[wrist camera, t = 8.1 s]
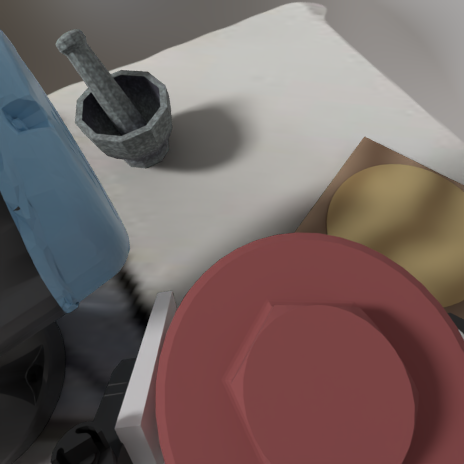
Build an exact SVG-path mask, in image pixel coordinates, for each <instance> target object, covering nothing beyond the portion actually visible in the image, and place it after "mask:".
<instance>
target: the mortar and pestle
mask: <svg viewBox="0 0 464 464" xmlns="http://www.w3.org/2000/svg"><path fill="white" fill-rule="evenodd" d="M56 47H57V48H58V50H59V51H60V52H61V53H62V54H64V55H66V56H67V57H68V59H69V60H70V62H71V63H72V64H73V66H74V68H75V69H76V70H77V72H78V73H79V75H80V76H81V78H82V79H83V81H84V82H85V84H86V85H87V87H88V89H87V90H86V91H85V92H84V93H83V94H82V95H81V96H80V97H79V98H78V100H77V105H76V118H75V123H76V124H77V126H78V127H79V128H80V129H81V131H82V132H83V133H84V134H85V135H86V136H87V137H88V138H89V139H90V140H91V141H92V142H93V143H94V144H95V145H96V146H97V147H98V148H99V149H100V150H102V151H103V152H104V153H105V154H106V155H107V156H110V157H114V158H117V159H124V160H125V161H126V162H127V163H128V164H129V165H130V166H131V167H139V168H148V167H150V166H152V165H154V164H157V163H159V162H161V161H162V159H163V158H164V156H165V155H166V153H167V152H168V151H169V143H168V137H169V136H170V133H171V130H172V117H171V107H170V100H169V95H168V92H167V89H166V86H165V85H164V84H163V83H162V82H160V81H159V80H158V79H156V78H155V77H154V76H152V75H151V74H150V73H149V72H143V71H127V70H120V71H118V72H115V73H113V74H110V73H109V72H108V70H107V69H106V68H105V67H104V65H103V64H102V63H101V61H100V60H99V59H98V57H97V56H96V55H95V53H94V52H93V51H92V49H91V48H90V47H89V45H88V44H87V42H86V36H85V35H84V34H83V32H82V31H81V30H79V29H75V30H71V31H69V32H67V33H65V34H64V35H62V36H61V37H60V38H59V39H58V40H57V42H56Z"/></svg>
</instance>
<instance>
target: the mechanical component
mask: <svg viewBox="0 0 464 464" xmlns="http://www.w3.org/2000/svg"><path fill="white" fill-rule="evenodd" d="M156 420H157V428H158V435H159V443H160V447H161V450H162V454H163V458H164V461H165V464H464V339H463V337H462V336H461V334H460V332H459V330H458V328H457V326H456V325H455V323H454V322H453V321H452V319H451V318H450V316H449V315H448V314H447V312H446V311H445V309H444V308H443V307H442V305H441V304H440V303H439V302H438V300H437V299H436V298H435V297H434V296H433V295H432V294H431V293H430V292H429V291H428V290H427V288H426V287H425V286H424V285H423V284H422V283H421V282H419V281H418V280H417V279H416V278H415V277H414V276H412V275H411V274H410V273H409V272H408V271H407V270H405V269H404V268H403V267H401V266H400V265H398V264H397V263H395V262H394V261H392V260H391V259H389V258H388V257H386V256H385V255H383V254H381V253H379V252H377V251H375V250H373V249H371V248H369V247H367V246H365V245H362V244H360V243H357V242H354V241H351V240H348V239H344V238H341V237H337V236H331V235H326V234H320V233H298V232H297V233H288V234H279V235H274V236H270V237H266V238H263V239H259V240H256V241H253V242H251V243H249V244H246V245H244V246H242V247H240V248H237V249H236V250H234V251H233V252H231V253H229V254H228V255H226V256H225V257H223V258H222V259H220V260H219V261H218V262H216V263H215V264H214V265H213V266H212V267H211V268H209V269H208V270H207V271H206V272H205V273H204V274H203V275H202V276H201V277H200V278H199V279H198V280H197V281H196V283H195V284H194V285H193V286H192V288H191V289H190V290H189V291H188V293H187V294H186V295H185V297H184V299H183V300H182V302H181V304H180V306H179V307H178V309H177V310H176V313H175V315H174V317H173V319H172V322H171V324H170V326H169V328H168V331H167V333H166V336H165V340H164V343H163V347H162V351H161V354H160V358H159V364H158V372H157V379H156Z"/></svg>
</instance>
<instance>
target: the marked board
mask: <svg viewBox="0 0 464 464" xmlns="http://www.w3.org/2000/svg"><path fill="white" fill-rule="evenodd" d="M297 232H298V233H320V234H326V235H331V236H337V237H341V238H344V239H348V240H351V241H354V242H357V243H360V244H362V245H365V246H367V247H369V248H371V249H373V250H375V251H377V252H379V253H381V254H383V255H385V256H386V257H388V258H389V259H391V260H392V261H394V262H395V263H397V264H398V265H400V266H401V267H403V268H404V269H405V270H407V271H408V272H409V273H410V274H411V275H412V276H414V277H415V278H416V279H417V280H418V281H419V282H421V283H422V284H423V285H424V286H425V287H426V288H427V290H428V291H429V292H430V293H431V294H432V295H433V296H434V297H435V298H436V299H437V300H438V302H439V303H440V304H441V305H442V307H443V308H444V309H445V311H446V312H447V313H452V314H454V315H456V316H458V317H460V318H462V319H464V185H462V184H460V183H458V182H456V181H454V180H452V179H450V178H448V177H446V176H443V175H441V174H439V173H437V172H435V171H433V170H431V169H429V168H427V167H425V166H423V165H421V164H419V163H417V162H415V161H413V160H411V159H409V158H407V157H405V156H403V155H401V154H399V153H397V152H395V151H393V150H391V149H389V148H387V147H385V146H383V145H381V144H379V143H376V142H374V141H372V140H370V139H368V138H366V137H364V138H363V139H362V141H361V142H360V143H359V145H358V146H357V147H356V149H355V150H354V152H353V153H352V154H351V156H350V157H349V158H348V160H347V161H346V163H345V164H344V165H343V167H342V168H341V169H340V171H339V172H338V173H337V175H336V176H335V178H334V179H333V180H332V182H331V183H330V184H329V186H328V187H327V189H326V190H325V191H324V193H323V194H322V195H321V197H320V198H319V200H318V201H317V202H316V204H315V205H314V206H313V208H312V209H311V211H310V212H309V213H308V215H307V216H306V217H305V219H304V220H303V221H302V223H301V224H300V226H299V227H298V228H297V230H296V231H295V232H294V233H297Z"/></svg>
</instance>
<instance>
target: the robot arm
mask: <svg viewBox="0 0 464 464" xmlns="http://www.w3.org/2000/svg"><path fill="white" fill-rule="evenodd" d="M129 250H130V244H129V237H128V234H127V232H126V229H125V227H124V225H123V223H122V221H121V219H120V217H119V215H118V213H117V211H116V210H115V208H114V206H113V204H112V202H111V201H110V199H109V197H108V195H107V194H106V192H105V190H104V188H103V187H102V185H101V183H100V181H99V180H98V178H97V176H96V175H95V173H94V171H93V170H92V168H91V166H90V164H89V163H88V161H87V160H86V158H85V156H84V155H83V153H82V151H81V150H80V148H79V146H78V145H77V143H76V141H75V140H74V138H73V137H72V135H71V133H70V132H69V130H68V128H67V127H66V125H65V124H64V122H63V120H62V119H61V117H60V115H59V114H58V112H57V111H56V109H55V108H54V106H53V104H52V103H51V101H50V100H49V98H48V97H47V95H46V94H45V92H44V90H43V89H42V87H41V86H40V84H39V83H38V81H37V80H36V79H35V77H34V75H33V74H32V73H31V71H30V70H29V69H28V68H27V66H26V64H25V63H24V62H23V61H22V59H21V58H20V56H19V54H18V53H17V51H16V49H15V47H14V46H13V44H12V43H11V42H10V40H9V39H8V38H7V37H6V35H5V34H4V33H3V32H2V31H1V30H0V464H11V463H12V462H14V461H15V460H16V459H17V458H18V457H20V456H21V455H22V454H23V453H24V452H25V451H26V450H27V449H28V448H29V447H30V446H31V444H32V443H33V442H34V441H35V440H36V438H37V437H38V436H39V434H40V433H41V431H42V430H43V429H44V427H45V425H46V424H47V422H48V420H49V418H50V417H51V415H52V413H53V410H54V408H55V406H56V404H57V401H58V398H59V395H60V392H61V388H62V384H63V380H64V373H65V349H64V343H63V339H62V336H61V333H60V330H59V328H58V326H57V324H56V323H55V321H56V320H57V319H59V318H60V317H62V316H63V315H65V314H66V313H70V312H72V311H73V310H75V309H76V308H77V307H78V306H79V302H80V301H82V300H83V299H84V298H86V297H87V296H88V295H89V294H91V293H92V292H93V291H95V290H96V289H97V288H99V287H100V286H101V285H103V284H104V283H105V282H107V281H108V280H109V279H110V278H112V277H113V276H114V275H116V274H117V273H118V272H119V271H120V269H121V268H122V266H123V265H124V263H125V262H126V259H127V256H128V253H129ZM176 310H177V306H176V302H175V299H174V295H173V291H166V292H159V293H157V296H156V299H155V303H154V306H153V309H152V312H151V315H150V318H149V321H148V325H147V328H146V331H145V334H144V337H143V340H142V344H141V347H140V350H139V353H138V356H137V358H134V359H127V360H122V361H121V362H120V363H119V365H118V366H117V367H116V368H115V370H114V371H113V373H112V375H111V378H110V380H109V383H108V387H107V388H106V391H105V393H104V397H103V398H102V401H101V403H100V406H99V408H98V411H97V413H96V416H95V419H94V421H90V422H83V423H81V424H78V425H76V426H74V427H73V428H72V429H70V430H69V431H68V432H66V433H65V435H64V436H63V437H62V438H61V439H60V440H59V441H58V443H57V445H56V447H55V449H54V451H53V453H52V458H51V463H52V464H164V458H163V454H162V450H161V447H160V443H159V435H158V428H157V420H156V379H157V372H158V364H159V358H160V354H161V351H162V347H163V343H164V340H165V336H166V333H167V331H168V328H169V326H170V324H171V322H172V319H173V317H174V315H175V313H176ZM447 314H448V315H449V316H450V318H451V319H452V321H453V322H454V323H455V325H456V326H457V328H458V330H459V332H460V334H461V336H462V337H463V339H464V319H462V318H460V317H458V316H456V315H454V314H452V313H447Z"/></svg>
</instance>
